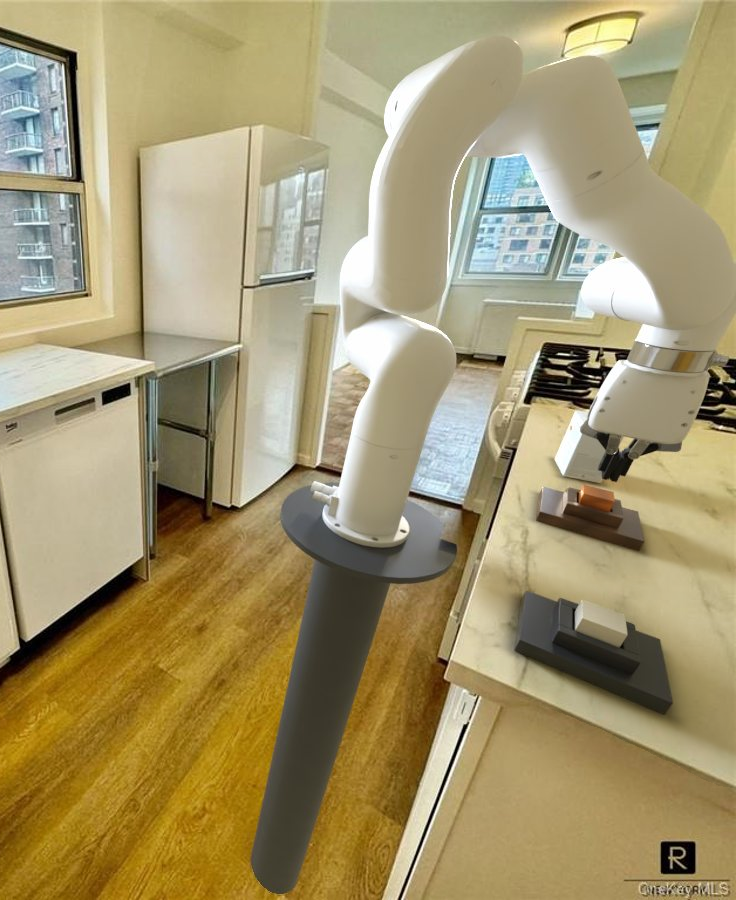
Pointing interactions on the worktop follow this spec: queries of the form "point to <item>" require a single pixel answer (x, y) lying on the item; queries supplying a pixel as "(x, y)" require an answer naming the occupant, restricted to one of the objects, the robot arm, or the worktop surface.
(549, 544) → the worktop surface
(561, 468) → the small box
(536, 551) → the worktop surface
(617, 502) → the stepped brown stand
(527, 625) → the stepped grey stand
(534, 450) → the worktop surface
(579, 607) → the key
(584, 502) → the key
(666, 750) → the worktop surface
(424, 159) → the robot arm
